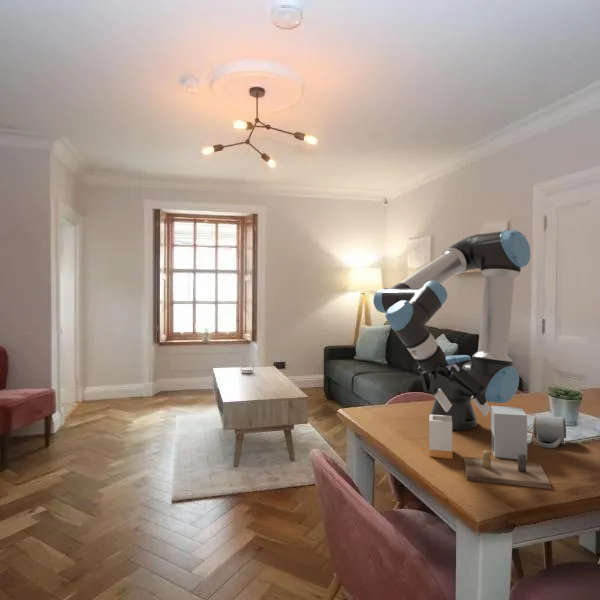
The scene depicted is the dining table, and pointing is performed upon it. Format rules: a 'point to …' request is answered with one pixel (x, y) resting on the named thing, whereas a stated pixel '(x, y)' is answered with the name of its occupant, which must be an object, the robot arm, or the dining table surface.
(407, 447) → the dining table surface
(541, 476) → the pin board
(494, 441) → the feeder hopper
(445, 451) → the sleeve
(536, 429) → the ceramic mug
